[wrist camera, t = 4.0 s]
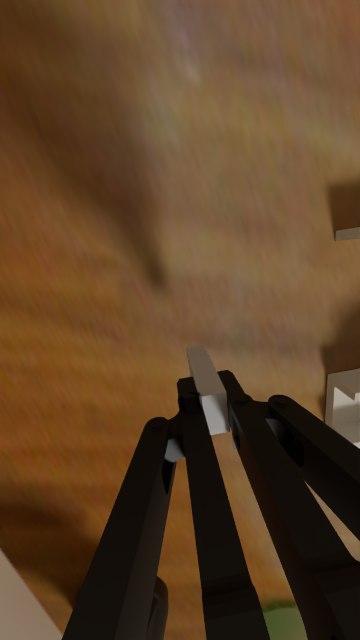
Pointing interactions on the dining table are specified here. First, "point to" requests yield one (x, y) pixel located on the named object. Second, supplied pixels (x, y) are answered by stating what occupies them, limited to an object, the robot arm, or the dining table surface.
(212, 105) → the dining table surface
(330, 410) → the dish rack
